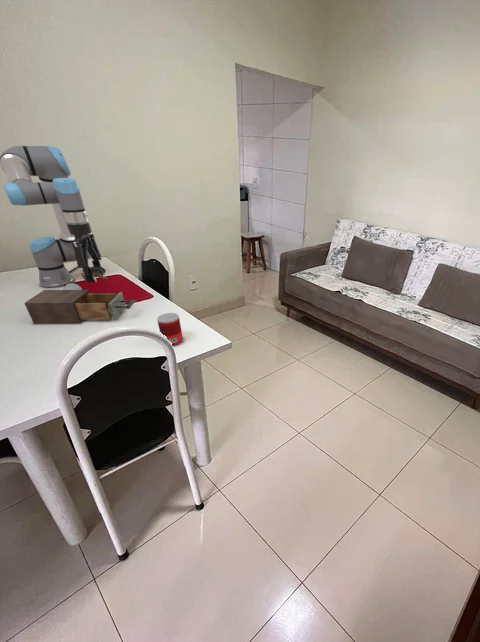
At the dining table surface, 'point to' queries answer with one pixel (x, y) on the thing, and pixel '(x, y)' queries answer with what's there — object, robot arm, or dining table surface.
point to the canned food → (170, 327)
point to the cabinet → (55, 307)
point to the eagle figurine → (95, 272)
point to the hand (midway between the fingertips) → (95, 278)
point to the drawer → (102, 306)
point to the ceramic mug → (72, 287)
